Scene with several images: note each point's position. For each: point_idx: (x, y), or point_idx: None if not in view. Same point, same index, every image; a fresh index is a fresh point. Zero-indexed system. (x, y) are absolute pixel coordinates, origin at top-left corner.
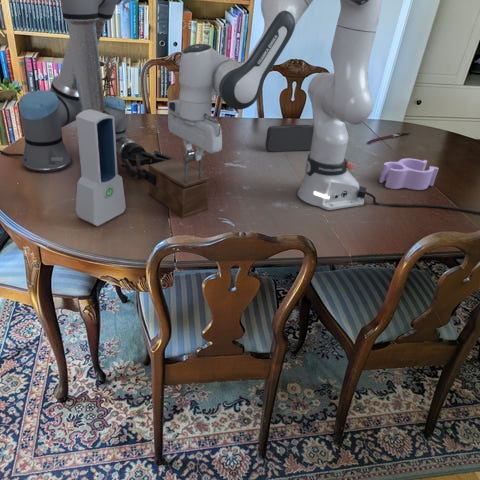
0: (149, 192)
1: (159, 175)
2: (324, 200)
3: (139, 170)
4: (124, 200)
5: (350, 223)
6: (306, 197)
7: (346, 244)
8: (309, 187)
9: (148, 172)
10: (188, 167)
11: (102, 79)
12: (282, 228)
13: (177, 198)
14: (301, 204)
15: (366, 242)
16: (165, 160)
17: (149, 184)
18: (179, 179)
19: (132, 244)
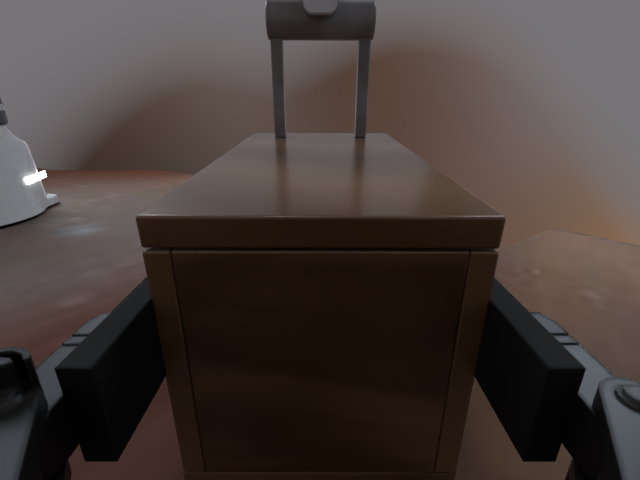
0: (454, 473)
1: None
2: (42, 186)
3: (628, 382)
4: None
5: (100, 188)
6: (24, 205)
7: (181, 180)
8: (8, 176)
9: (498, 295)
10: (237, 156)
11: None
12: None
13: None
14: (50, 219)
15: (155, 177)
16: (2, 477)
17: (466, 409)
18: (378, 140)
19: (580, 254)
